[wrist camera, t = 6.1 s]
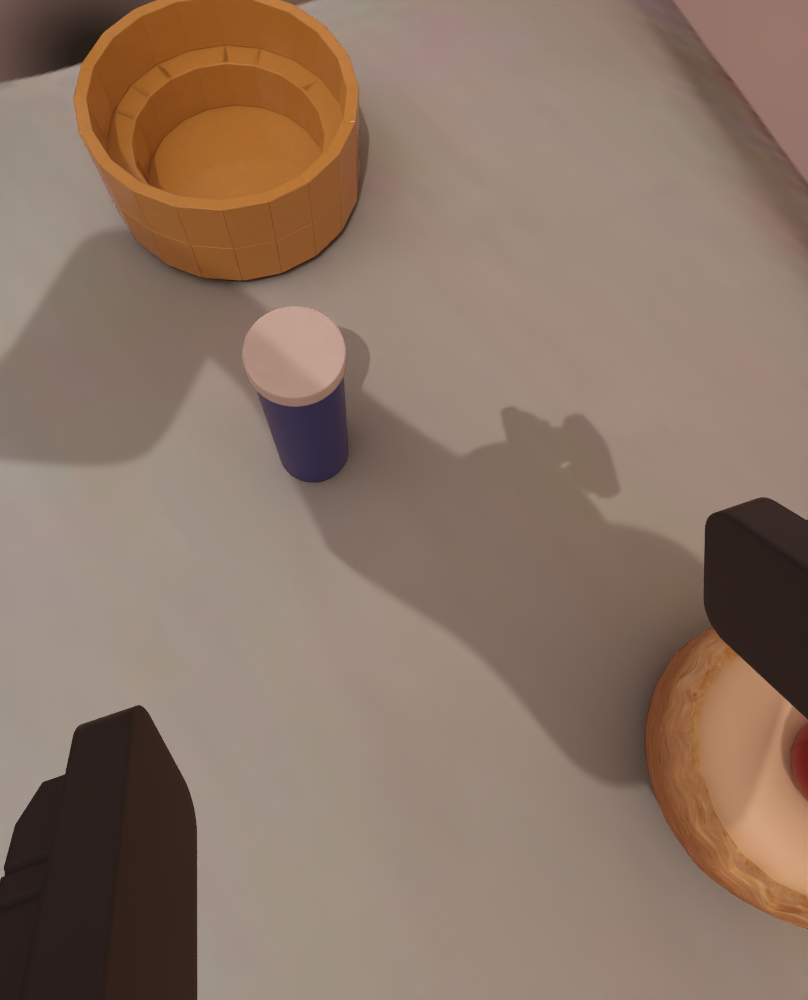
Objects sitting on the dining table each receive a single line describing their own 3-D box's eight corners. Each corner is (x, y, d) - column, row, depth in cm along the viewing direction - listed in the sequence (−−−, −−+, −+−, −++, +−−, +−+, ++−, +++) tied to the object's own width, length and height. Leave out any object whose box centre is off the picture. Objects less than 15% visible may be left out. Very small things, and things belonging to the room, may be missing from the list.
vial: (264, 469, 34) (224, 376, 24) (294, 405, 35) (267, 291, 25) (334, 496, 34) (321, 412, 24) (362, 431, 35) (361, 326, 25)
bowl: (74, 236, 37) (20, 149, 31) (184, 61, 41) (155, -44, 35) (302, 321, 36) (290, 248, 31) (393, 135, 40) (397, 39, 34)
